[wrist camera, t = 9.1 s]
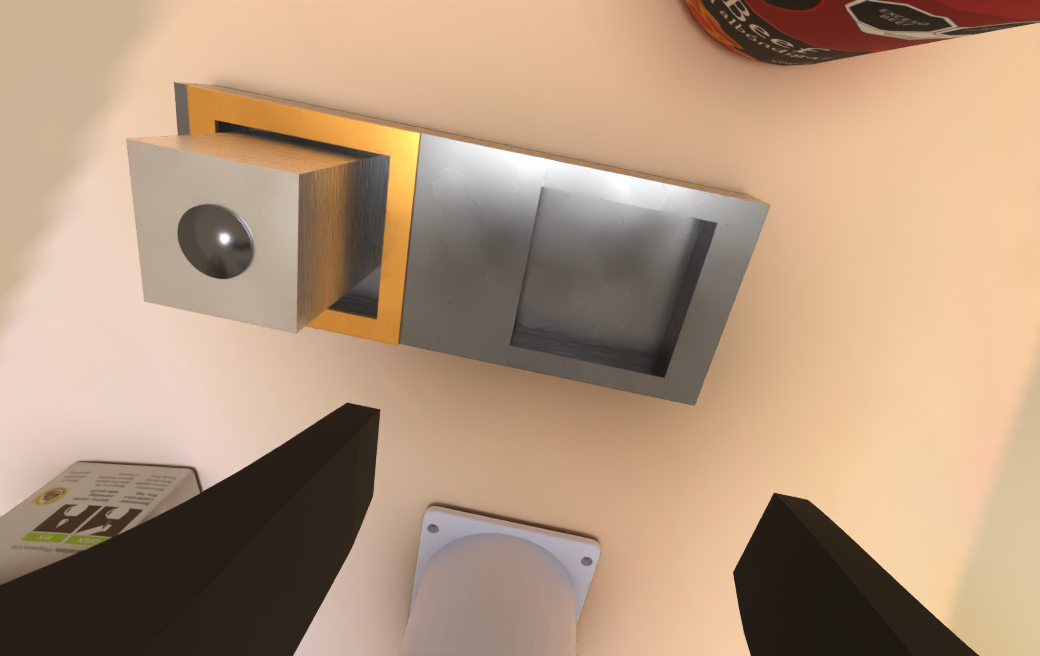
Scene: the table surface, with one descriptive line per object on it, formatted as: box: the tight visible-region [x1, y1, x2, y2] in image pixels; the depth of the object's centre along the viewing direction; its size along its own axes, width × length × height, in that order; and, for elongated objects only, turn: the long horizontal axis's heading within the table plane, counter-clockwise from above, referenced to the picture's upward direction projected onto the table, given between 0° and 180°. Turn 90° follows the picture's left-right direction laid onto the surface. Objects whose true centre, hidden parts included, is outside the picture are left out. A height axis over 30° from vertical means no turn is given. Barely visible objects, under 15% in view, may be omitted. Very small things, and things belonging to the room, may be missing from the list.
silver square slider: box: [126, 130, 386, 333], centre depth 15 cm, size 4×4×6 cm
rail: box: [174, 82, 770, 406], centre depth 17 cm, size 7×18×2 cm, turn 79°
